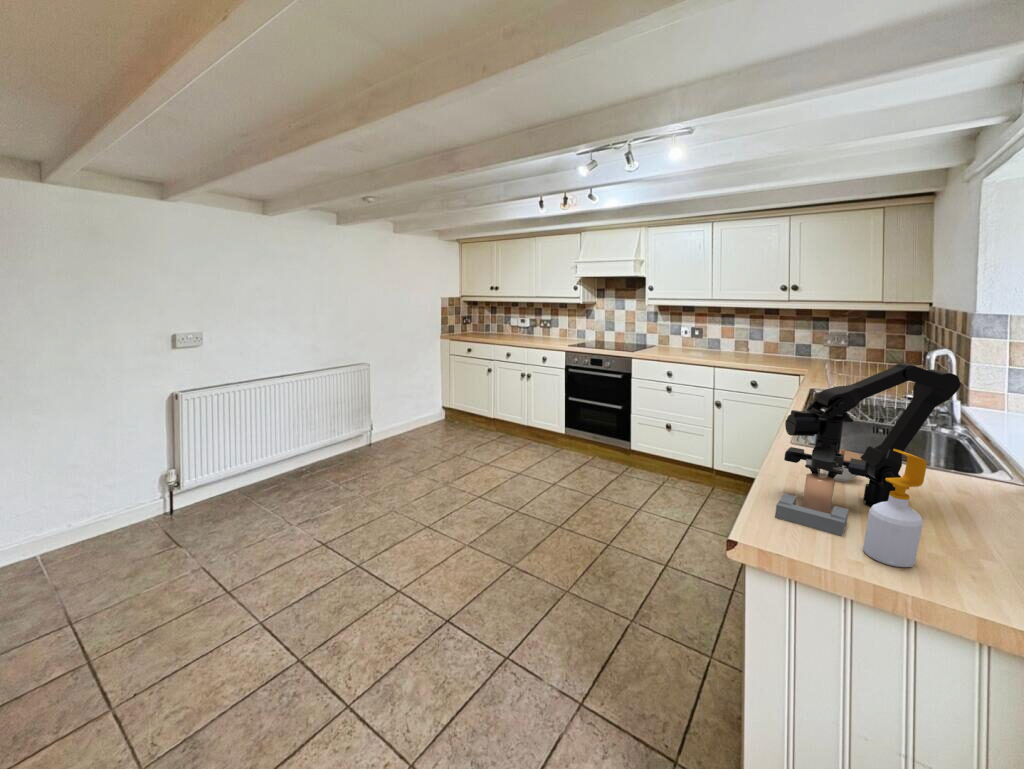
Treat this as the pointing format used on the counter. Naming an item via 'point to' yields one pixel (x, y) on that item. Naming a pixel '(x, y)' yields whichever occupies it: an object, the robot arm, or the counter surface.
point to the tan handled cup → (818, 492)
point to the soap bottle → (896, 520)
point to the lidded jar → (846, 474)
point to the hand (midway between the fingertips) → (821, 490)
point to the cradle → (811, 516)
